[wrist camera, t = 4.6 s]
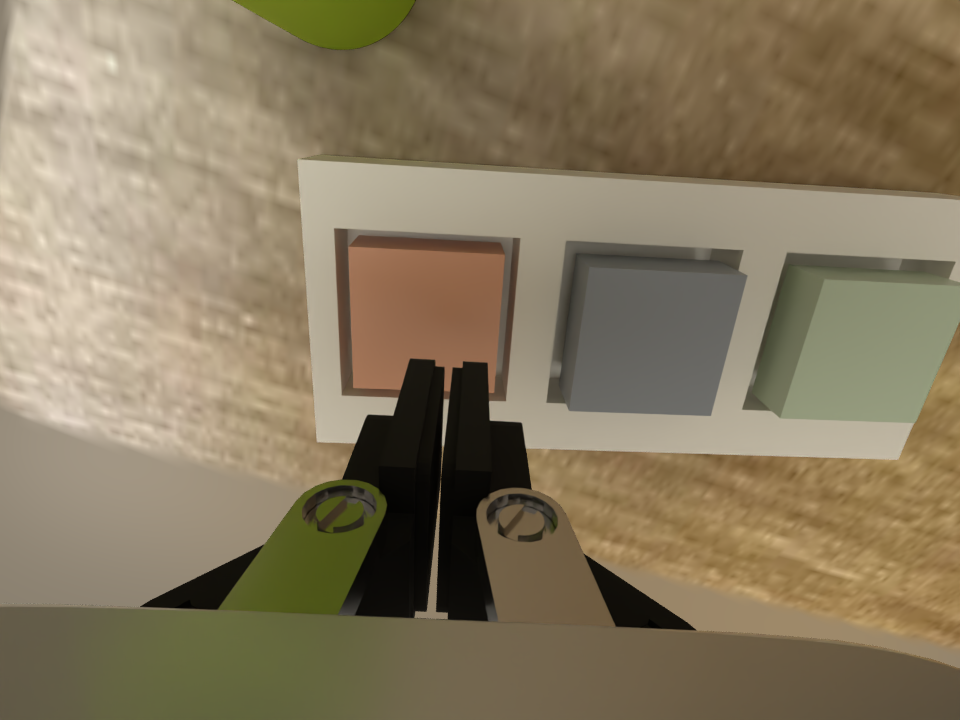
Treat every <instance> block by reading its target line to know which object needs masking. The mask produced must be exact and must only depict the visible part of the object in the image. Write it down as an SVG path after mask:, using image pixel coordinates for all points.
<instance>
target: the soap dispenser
mask: <svg viewBox="0 0 960 720" xmlns="http://www.w3.org/2000/svg"><path fill="white" fill-rule="evenodd" d="M233 1H234V2H236V3H238V4H240V5H241V6H243V7H245V8H247V9H248V10H250V11H252V12H254V13H256V14H257V15H259V16H261V17H263V18H264V19H266V20H268V21H270V22H271V23H273V24H275V25H277V26H279V27H280V28H282V29H284V30H286V31H287V32H289V33H291V34H293V35H294V36H296V37H298V38H300V39H302V40H304V41H306V42H308V43H311V44H313V45H316V46H319V47H323V48H328V49H336V50H348V49H356V48H361V47H364V46H367V45H370V44H372V43H375V42H377V41H379V40H380V39H382V38H384V37H385V36H387V35H388V34H389V33H391V32H392V31H393V30H394V29H395V28H396V27H397V26H398V25H399V24H400V23H401V22H402V21H403V20H404V18H405V17H406V16H407V14H408V13H409V11H410V10H411V8H412V6H413V5H414V3H415V1H416V0H233Z"/></svg>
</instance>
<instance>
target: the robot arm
mask: <svg viewBox="0 0 960 720" xmlns="http://www.w3.org/2000/svg"><path fill="white" fill-rule="evenodd" d="M444 379H445V367H439V366H436V362H435V360H431V359H413V358H410V360H409V363H408V367H407V370H406V373H405V377H404V380H403V384H402V387H401V391H400V394H399V397H398V401H397V404H396V408H395V411H394V415H393V416H391V415H372V414H369V415H367V416H366V418H365V421H364V424H363V426H362V429H361V431H360V434H359V437H358V439H357V442H356V445H355V447H354V450H353V452H352V455H351V458H350V460H349V463H348V466H347V468H346V471H345V473H344V476H343V479H342V480H336V481H329V482H326V483H323V484H320V485H317V486H315V487H313V488H311V489H310V490H308V491H306V492H305V493H304V494H303V495H302V496H301V497H300V498H299V499H298V500H297V501H296V502H295V503H294V505H293V506H292V507H291V509H290V510H289V511H288V513H287V514H286V516H285V517H284V518H283V520H282V521H281V522H280V524H279V525H278V527H277V528H276V529H275V531H274V532H273V534H272V535H271V536H270V538H269V539H268V540H267V542H266V543H265V544H264V545H262V546H260V547H258V548H256V549H254V550H252V551H250V552H248V553H246V554H244V555H242V556H240V557H238V558H236V559H234V560H232V561H230V562H228V563H225V564H224V565H221V566H219V567H218V568H215V569H213V570H211V571H209V572H207V573H205V574H203V575H201V576H199V577H197V578H195V579H193V580H191V581H189V582H187V583H185V584H183V585H181V586H179V587H177V588H175V589H173V590H170V591H168V592H166V593H165V594H162V595H160V596H158V597H156V598H154V599H152V600H150V601H149V602H147V603H145V604H144V605H142V606H140V607H123V606H96V605H95V606H94V605H68V604H0V720H960V669H959V668H956V667H953V666H951V665H947V664H944V663H942V662H939V661H936V660H932V659H929V658H924V657H920V656H916V655H912V654H908V653H903V652H900V651H895V650H891V649H887V648H883V647H878V646H871V645H865V644H858V643H852V642H845V641H839V640H829V639H816V638H803V637H791V636H779V635H766V634H753V633H735V632H714V631H697V630H696V629H694V628H693V627H692V626H691V625H690V624H688V623H687V622H685V621H684V620H683V619H681V618H680V617H678V616H677V615H675V614H673V613H672V612H671V611H669V610H668V609H666V608H665V607H663V606H662V605H660V604H659V603H657V602H656V601H654V600H653V599H651V598H649V597H648V596H647V595H645V594H644V593H642V592H641V591H639V590H637V589H636V588H635V587H633V586H632V585H630V584H628V583H627V582H625V581H624V580H622V579H621V578H620V577H618V576H616V575H615V574H614V573H612V572H611V571H609V570H607V569H606V568H605V567H603V566H602V565H600V564H599V563H597V562H596V561H594V560H593V559H591V558H590V557H588V556H587V555H585V554H584V553H583V551H582V549H581V547H580V544H579V542H578V540H577V538H576V535H575V533H574V531H573V529H572V526H571V524H570V522H569V519H568V517H567V515H566V513H565V512H564V510H563V509H562V507H561V506H560V505H559V504H558V503H557V502H556V501H554V500H553V499H552V498H551V497H549V496H547V495H545V494H543V493H541V492H538V491H534V490H532V488H531V481H530V474H529V467H528V460H527V453H526V446H525V439H524V432H523V426H522V423H521V422H507V421H490V412H489V384H488V363H486V362H468V361H463V367H462V368H457V367H453V368H452V378H451V387H450V396H449V406H448V415H447V424H446V434H445V443H444V452H443V462H442V476H441V458H442V432H443V405H444ZM440 480H441V497H440V524H439V551H438V577H437V603H436V612H446V613H448V619H426V618H414V616H415V611H424V612H426V611H427V604H428V594H429V585H430V576H431V566H432V557H433V548H434V538H435V529H436V519H437V510H438V501H439V491H440Z"/></svg>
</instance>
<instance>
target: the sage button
mask: <svg viewBox="0 0 960 720" xmlns="http://www.w3.org/2000/svg"><path fill="white" fill-rule="evenodd" d="M959 322H960V282H957V281H954V280H950V279H947V278H944V277H941V276H937V275H934V274H931V273H928V272H923V271H904V270H885V269H866V268H847V267H828V266H809V265H790V264H789V265H788V268H787V272H786V275H785V279H784V282H783V286H782V289H781V293H780V296H779V299H778V303H777V306H776V310H775V313H774V317H773V320H772V324H771V327H770V331H769V334H768V337H767V341H766V344H765V348H764V351H763V355H762V358H761V362H760V365H759V368H758V372H757V375H756V379H755V382H754V386H753V389H752V394H754V395H755V396H756V397H757V398H758V399H759V400H760V401H761V402H762V403H763V404H765V405H766V406H767V407H768V408H769V409H770V410H771V411H772V412H773V413H775V414H776V415H777V416H778V417H779V418H782V419H810V420H839V421H868V422H897V423H916V420H917V418H918V416H919V414H920V411H921V409H922V407H923V404H924V402H925V400H926V398H927V395H928V393H929V391H930V388H931V386H932V384H933V381H934V379H935V377H936V375H937V372H938V370H939V368H940V365H941V363H942V361H943V358H944V356H945V354H946V352H947V349H948V347H949V345H950V342H951V340H952V338H953V336H954V333H955V331H956V329H957V326H958V324H959Z"/></svg>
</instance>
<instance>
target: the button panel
mask: <svg viewBox="0 0 960 720" xmlns="http://www.w3.org/2000/svg"><path fill="white" fill-rule="evenodd" d="M297 162H298V176H299V191H300V205H301V220H302V234H303V249H304V263H305V278H306V292H307V307H308V321H309V336H310V350H311V365H312V379H313V393H314V408H315V422H316V437H317V442H330V443H356V442H357V439H358V437H359V434H360V431H361V429H362V426H363V424H364V421H365V418H366V416H367V415H369V414H372V415H391V416H393V415H394V411H395V408H396V404H397V401H398V397H399V394H400V391H401V390H393V389H366V388H353V363H352V335H351V307H350V280H349V252H348V247H349V245H350V244H351V243H352V242H353V241H354V240H355V239H356V238H357V237H358V236H359V235H365V236H384V237H403V238H422V239H441V240H459V241H478V242H497V243H501V245H502V248H503V251H504V253H505V262H504V275H503V287H502V300H501V313H500V325H499V338H498V350H497V363H496V376H495V388H494V393H489V412H490V421H507V422H521V423H522V426H523V432H524V439H525V446H526V448H528V449H561V450H594V451H627V452H660V453H693V454H726V455H759V456H792V457H825V458H858V459H891V460H898V459H899V456H900V454H901V452H902V449H903V447H904V445H905V442H906V440H907V438H908V436H909V433H910V431H911V429H912V426H913V424H914V423H897V422H868V421H839V420H810V419H782V418H779V417H778V416H777V415H776V414H775V413H773V412H772V411H771V410H770V409H769V408H768V407H767V406H766V405H765V404H763V403H762V402H761V401H760V400H759V399H758V398H757V397H756V396H755V395H754V394H752V389H753V386H754V382H755V379H756V375H757V372H758V368H759V365H760V362H761V358H762V355H763V351H764V348H765V344H766V341H767V337H768V334H769V331H770V327H771V324H772V320H773V317H774V313H775V310H776V306H777V303H778V299H779V296H780V293H781V289H782V286H783V282H784V279H785V275H786V272H787V268H788V265H789V264H790V265H809V266H828V267H847V268H866V269H885V270H904V271H923V272H928V273H931V274H934V275H937V276H941V277H944V278H947V279H950V280H954V281H957V282H960V196H955V195H948V194H941V193H932V192H915V191H899V190H883V189H867V188H851V187H835V186H818V185H802V184H786V183H770V182H754V181H737V180H721V179H705V178H689V177H673V176H657V175H640V174H624V173H608V172H592V171H576V170H559V169H543V168H527V167H511V166H495V165H479V164H462V163H446V162H430V161H414V160H398V159H381V158H365V157H349V156H333V155H317V156H312V157H307V158H302V159H297ZM576 253H580V254H599V255H618V256H637V257H657V258H676V259H695V260H714V261H720V262H722V263H724V264H726V265H728V266H730V267H732V268H734V269H736V270H738V271H740V272H742V273H744V274H746V275H748V276H747V280H746V284H745V287H744V291H743V295H742V299H741V303H740V307H739V310H738V314H737V318H736V322H735V326H734V329H733V333H732V337H731V341H730V345H729V349H728V352H727V356H726V360H725V364H724V368H723V371H722V375H721V379H720V383H719V387H718V391H717V394H716V398H715V402H714V406H713V410H712V413H711V416H695V415H666V414H637V413H608V412H580V411H569V410H568V407H567V405H566V402H565V400H564V397H563V395H562V392H561V390H560V387H559V380H560V373H561V365H562V357H563V350H564V342H565V335H566V327H567V319H568V312H569V304H570V297H571V289H572V281H573V274H574V266H575V259H576ZM449 396H450V392H448V391H444V405H443V432H442V446H444V443H445V434H446V424H447V415H448V406H449Z"/></svg>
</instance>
